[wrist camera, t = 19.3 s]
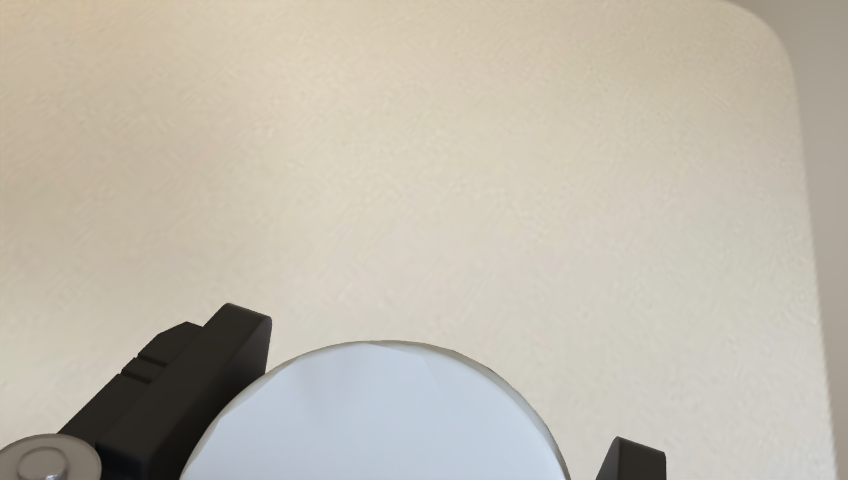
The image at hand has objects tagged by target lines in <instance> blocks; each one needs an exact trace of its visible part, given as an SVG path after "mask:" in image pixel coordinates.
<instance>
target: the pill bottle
mask: <svg viewBox="0 0 848 480" xmlns="http://www.w3.org/2000/svg"><path fill="white" fill-rule="evenodd" d="M179 480H571V478H570V474H569V472H568V469H567V466H566V463H565V461H564V459H563V456H562V454H561V452H560V450H559V448H558V445H557V443H556V442H555V440H554V438H553V436H552V434H551V433H550V431H549V429H548V427H547V425H546V424H545V423H544V422H543V420H542V419H541V418H540V416H539V415H538V414H537V412H536V411H535V410H534V409H533V408H532V407H531V405H530V404H529V403H528V402H527V401H526V399H525V398H524V397H523V396H522V395H521V394H520V393H519V392H518V391H516V390H515V389H514V388H513V387H512V386H511V385H510V384H509V383H508V382H507V381H505V380H504V379H503V378H502V377H500V376H499V375H498V374H496V373H495V372H494V371H492V370H491V369H489V368H488V367H486V366H484V365H482V364H480V363H478V362H476V361H475V360H473V359H470V358H468V357H466V356H464V355H462V354H460V353H458V352H456V351H453V350H449V349H445V348H442V347H438V346H434V345H430V344H426V343H418V342H408V341H396V340H382V341H356V342H347V343H341V344H336V345H331V346H327V347H324V348H320V349H317V350H314V351H310V352H307V353H305V354H302V355H300V356H297V357H295V358H293V359H290V360H288V361H286V362H284V363H282V364H280V365H279V366H277V367H275V368H273V369H272V370H270V371H269V372H267V373H266V374H264V375H263V376H261V377H260V378H258V379H257V380H256V381H254V382H253V383H252V384H250V385H249V386H247V387H246V388H245V389H244V390H243V391H242V392H240V393H239V394H238V395H237V396H236V397H235V398H234V399H233V400H232V401H231V402H230V403H229V404H228V405H227V406H226V407H225V408H224V409H223V410H222V411H221V412H220V413H219V415H218V416H217V417H216V418H215V419H214V420H213V422H212V423H211V424H210V425H209V427H208V428H207V430H206V431H205V433H204V434H203V436H202V437H201V439H200V441H199V442H198V444H197V445H196V447H195V448H194V450H193V452H192V454H191V456H190V457H189V459H188V461H187V463H186V465H185V467H184V469H183V471H182V474H181V476H180V479H179Z"/></svg>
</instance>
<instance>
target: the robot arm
mask: <svg viewBox="0 0 848 480" xmlns="http://www.w3.org/2000/svg"><path fill="white" fill-rule="evenodd" d="M271 330H272V319H271V317H269V316H266V315H263V314H261V313H258V312H255V311H252V310H249V309H246V308H243V307H240V306H237V305H234V304H231V303H226V304H224V305H223V306H222V307H221V308H220V309H219V310H218V311H217V312H216V313H215V314H214V316H213V317H212V318H211V319H210V320H209V321H208V322H207V323H206V324H205V325H204V326H203V327H202V326H199V325H196V324H193V323H190V322H187V321H186V322H184V323H182V324H179V325H177V326H175V327H173V328H170V329H168V330H166V331H164V332H162V333H159V334H157V335H156V336H155V337H154V338H153V339H152V340H151V341H150V342H149V343H148V344H147V345H146V346H145V347H144V348H143V349H142V350H141V351H140V352H139V353H138V356H137V358H135V357H134V358H133V359H132V360H131V361H130V362H129V363H128V364H127V365H126V366H125V367H124V368H123V369H122V371H121V373H120V374H117V375H116V376H115V377H114V378H113V379H112V380H111V381H110V382H109V383H108V384H107V385H105V386H104V387H103V388H102V389H101V390H100V391H99V392H98V393H97V394H96V395H95V396H94V397H93V398H92V399H91V400H90V401H89V402H88V403H87V404H86V405H85V406H84V407H83V408H82V409H81V410H80V411H79V412H78V413H77V414H76V415H75V416H74V417H73V418H72V419H71V420H70V421H69V422H68V423H67V424H66V425H65V426H64V427H63V428H62V429H61V430H60V431H59V432H58V433H56V434H41V435H34V436H30V437H26V438H23V439H21V440H18V441H15V442H13V443H11V444H9V445H7V446H6V447H4V448H3V449H1V450H0V480H179V479H180V476H181V474H182V471H183V469H184V467H185V465H186V463H187V461H188V459H189V457H190V456H191V454H192V452H193V450H194V448H195V447H196V445H197V444H198V442H199V441H200V439H201V437H202V436H203V434H204V433H205V431H206V430H207V428H208V427H209V425H210V424H211V423H212V422H213V420H214V419H215V418H216V417H217V416H218V415H219V413H220V412H221V411H222V410H223V409H224V408H225V407H226V406H227V405H228V404H229V403H230V402H231V401H232V400H233V399H234V398H235V397H236V396H237V395H238V394H239V393H240V392H242V391H243V390H244V389H245V388H246V387H247V386H249V385H250V384H252V383H253V382H254V381H256V380H257V379H258V378H260V377H261V376H263V375H264V374H265V370H266V363H267V356H268V350H269V343H270V337H271ZM596 480H666V456H665V453H664V452H662V451H659V450H656V449H653V448H650V447H648V446H645V445H642V444H639V443H636V442H633V441H630V440H627V439H624V438H621V437H618V436H617V437H616V438H615V439H614V440H613V442H612V444H611V446H610V448H609V451H608V453H607V455H606V457H605V460H604V462H603V464H602V466H601V469H600V471H599V473H598V475H597V478H596Z"/></svg>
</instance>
